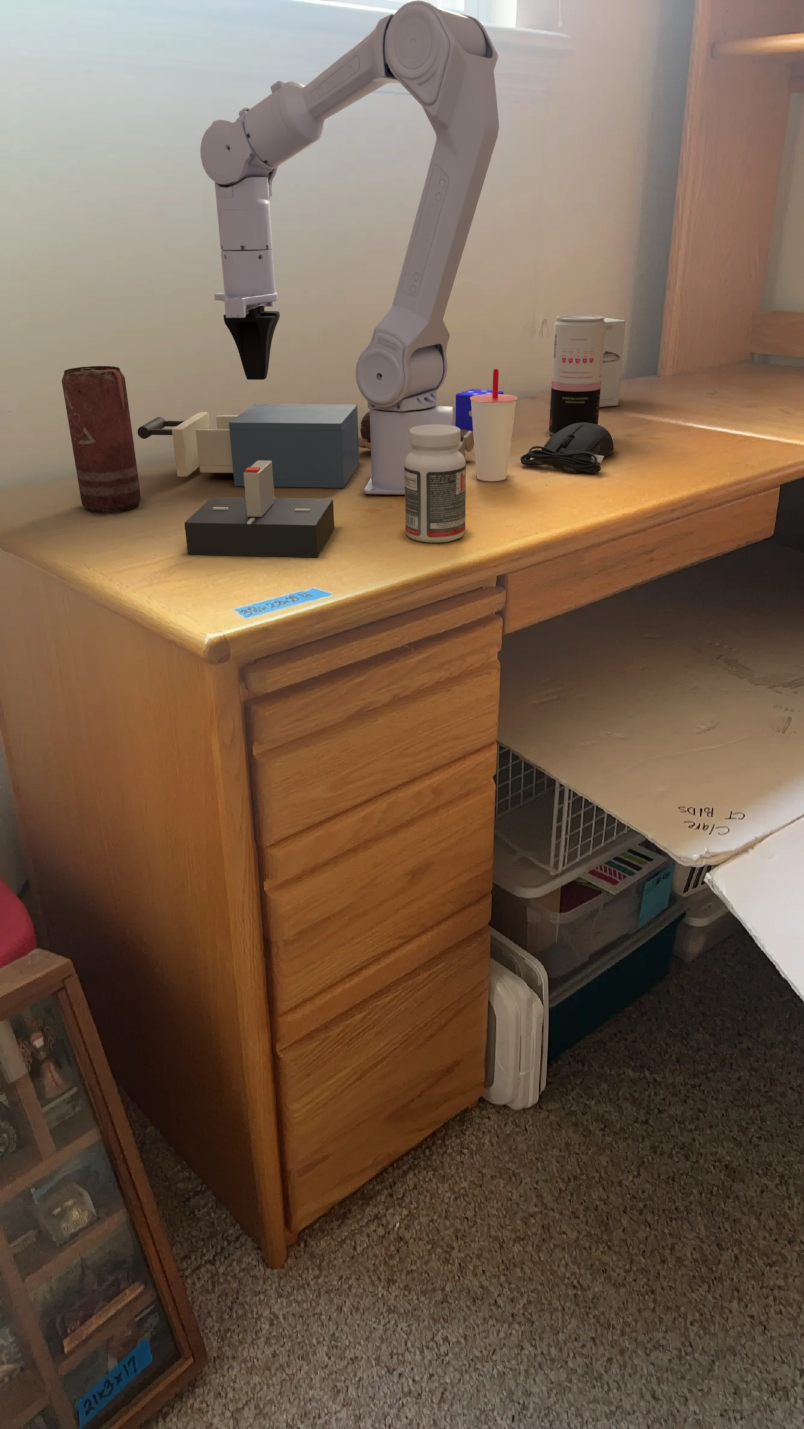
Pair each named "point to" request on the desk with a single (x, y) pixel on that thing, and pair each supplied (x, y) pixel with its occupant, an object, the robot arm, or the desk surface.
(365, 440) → the figurine
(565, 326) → the beverage can
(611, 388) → the white packaging box
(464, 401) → the die
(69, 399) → the can
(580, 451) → the computer mouse
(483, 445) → the cup
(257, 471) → the grey block
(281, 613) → the desk surface
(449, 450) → the pill bottle
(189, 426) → the drawer
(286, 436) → the compartment
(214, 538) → the control panel
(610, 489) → the desk surface
